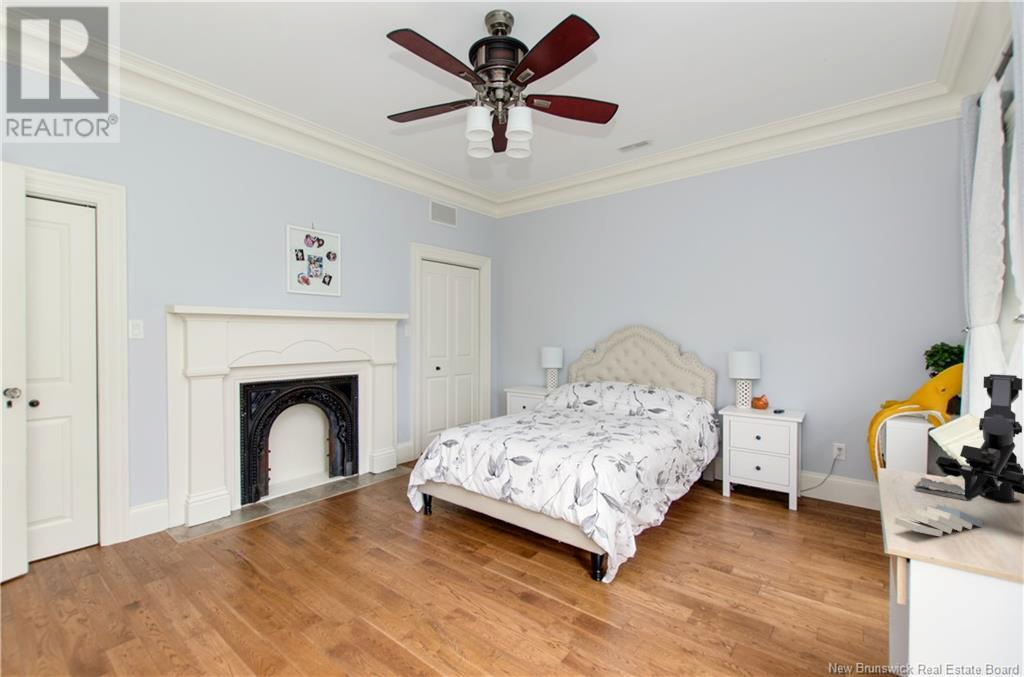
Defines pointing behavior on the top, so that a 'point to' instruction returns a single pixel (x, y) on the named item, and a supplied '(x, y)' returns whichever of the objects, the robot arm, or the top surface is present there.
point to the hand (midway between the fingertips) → (967, 498)
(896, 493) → the top surface
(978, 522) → the domino
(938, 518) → the domino
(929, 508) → the domino
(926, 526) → the domino
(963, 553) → the top surface
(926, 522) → the domino
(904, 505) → the top surface
